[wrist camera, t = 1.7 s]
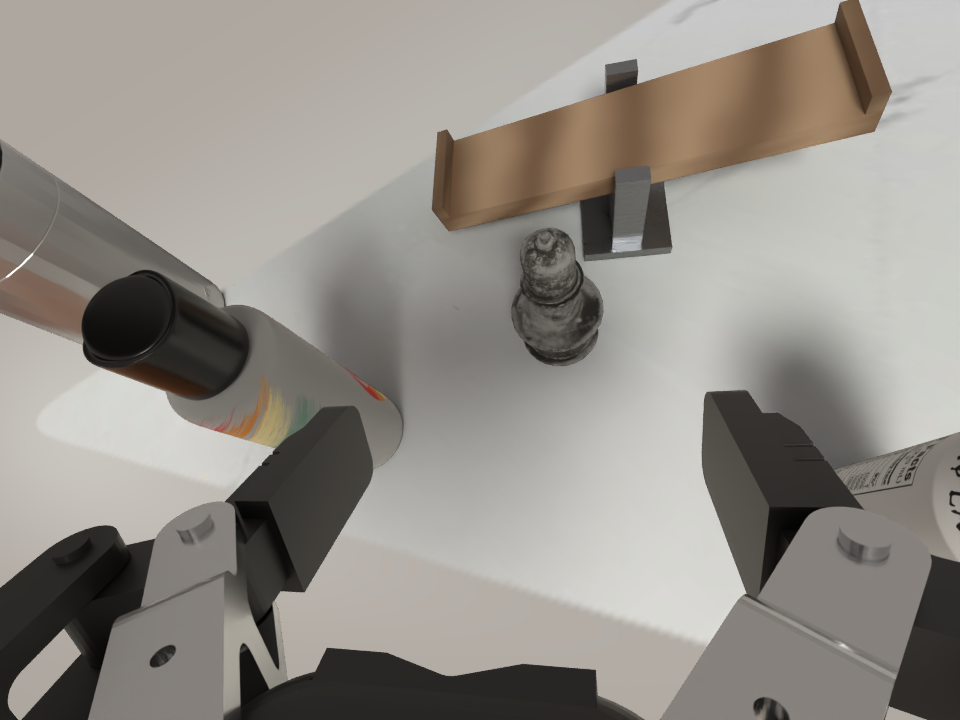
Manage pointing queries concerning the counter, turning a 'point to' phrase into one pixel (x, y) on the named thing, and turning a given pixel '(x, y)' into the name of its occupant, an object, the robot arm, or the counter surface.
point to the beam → (670, 125)
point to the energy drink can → (914, 491)
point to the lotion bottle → (226, 364)
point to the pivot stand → (626, 201)
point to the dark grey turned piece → (555, 301)
